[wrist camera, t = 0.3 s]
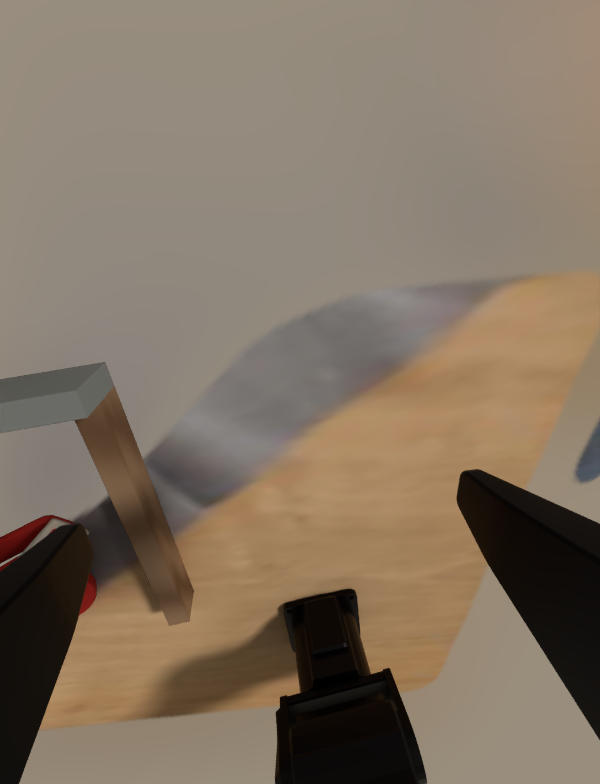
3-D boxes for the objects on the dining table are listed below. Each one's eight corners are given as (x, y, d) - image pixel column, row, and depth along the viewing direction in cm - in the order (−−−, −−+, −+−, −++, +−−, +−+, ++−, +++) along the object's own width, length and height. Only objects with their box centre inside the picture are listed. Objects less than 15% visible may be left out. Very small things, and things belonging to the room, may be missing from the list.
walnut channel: (193, 590, 29) (189, 621, 27) (-53, 644, 28) (-80, 680, 25) (114, 385, 21) (98, 404, 19) (-237, 445, 20) (-299, 473, 18)
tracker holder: (109, 626, 28) (-54, 674, 25) (111, 572, 32) (-34, 607, 28) (79, 544, 21) (-158, 593, 17) (86, 484, 24) (-114, 515, 21)
